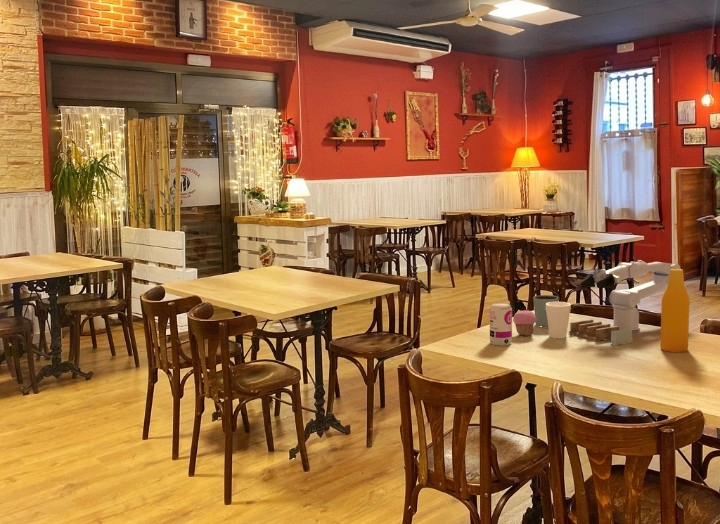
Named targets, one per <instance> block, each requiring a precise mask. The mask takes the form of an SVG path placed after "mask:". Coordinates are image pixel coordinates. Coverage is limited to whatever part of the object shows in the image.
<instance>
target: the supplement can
mask: <svg viewBox="0 0 720 524" xmlns="http://www.w3.org/2000/svg"><path fill="white" fill-rule="evenodd" d="M489 342H490V343H491V345H493V346H499V347H503V346H504V347H505V346H509V345H511V344H512V343H513V308H512V306H511V304H510V303H506V302H496V303H492V304H490V307H489Z"/></svg>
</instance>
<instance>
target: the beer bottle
mask: <svg viewBox="0 0 720 524" xmlns="http://www.w3.org/2000/svg"><path fill="white" fill-rule="evenodd" d="M684 276H685V275H684V270H683V268H682V269H670V274H669V281H668V286H667V288H666V289H665V290H664V292H663V294H662V297H661V309H660V310H661V311H660V312H661V313H660V315H661V317H660V340H659V347H660V349H661V350H662V351H664V352H668V353H685V352H687V351H688V349H689V330H690V329H689V326H690V305H691V303H690V302H691V301H690V296H689V294H688V291H687V289H686V286H685V279H684V278H685V277H684Z"/></svg>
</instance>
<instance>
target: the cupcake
mask: <svg viewBox="0 0 720 524" xmlns="http://www.w3.org/2000/svg"><path fill="white" fill-rule="evenodd" d="M512 322H513V323H514V325H515V330H516V333H517V334H518V335H519V336H521V335H522V336H524V337H525V336H526V337H527V336H531V335H533V333H534V324H536V323H535V322H536V316H535V312H533V311H532V310H528V309H527V310H525V309H524V310H519V311H517V312H516V313H515V314H514V316H513V317H512Z"/></svg>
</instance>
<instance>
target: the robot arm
mask: <svg viewBox="0 0 720 524" xmlns="http://www.w3.org/2000/svg"><path fill="white" fill-rule="evenodd" d="M670 269H681V266H680V265H679V264H678V263H669V262H660V261H653V262H648V263H647V262H646V261H643V260H642V259H638V260H637V261H630V262H619V263H618V264H617V266H615V267H612V268H610V269H607V270H606V269H605V268H601V269H600V272H599V273H596V274H594V275H593V273H587V274H586V276H585V278H584V279H583V280H582V281H581V282H580V287H581V289H582V288H597V289H601V288H609V289H614V288H615V287H616V285H615V284H618V283H621V281H623V280H626V279H628V278H629V279H636V278H637V277H640V276H645V275H647V274H648V273H649V272H651V278H650V281H648V282H646V283H643V284H639V285H637V286H635V287H632V288H630V289H620V290H619V289H614V290H612V291H611V292H610V294H609V297H608V298H609V303H610V304H611V305H612V308H613V324H612V325H613V326H619V330H622V329H631V330H632V331H637V330H641V328H640V327H639V323H640V313H639V310H638V308H637V305H638V304H639V305H640V303H641V300H642V299H645V298H648V297H651V296H653V295H657V294H659V293H662V292H663V291H664V292H665V290H666V288H667V286H668V281H669V274H670ZM613 326H612V327H613Z"/></svg>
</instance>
